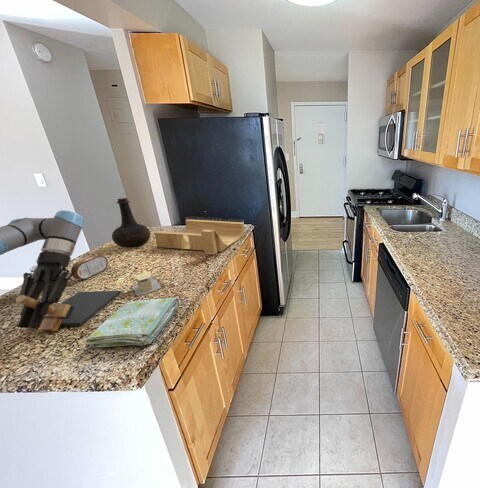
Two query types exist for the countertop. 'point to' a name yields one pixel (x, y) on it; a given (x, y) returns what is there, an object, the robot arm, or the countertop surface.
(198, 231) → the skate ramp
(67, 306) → the scrub brush
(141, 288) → the stacked layers on plate
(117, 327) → the towel
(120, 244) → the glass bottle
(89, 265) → the tin
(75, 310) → the serving tray
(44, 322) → the wooden square block
